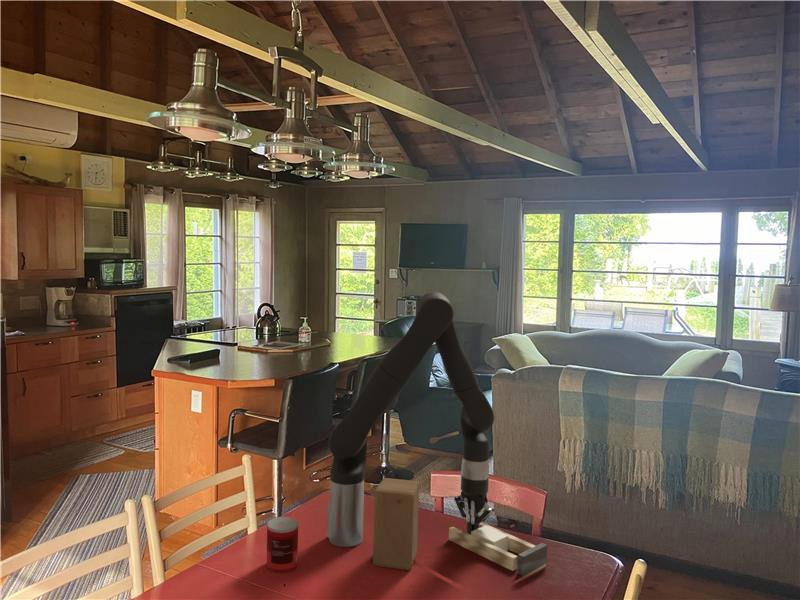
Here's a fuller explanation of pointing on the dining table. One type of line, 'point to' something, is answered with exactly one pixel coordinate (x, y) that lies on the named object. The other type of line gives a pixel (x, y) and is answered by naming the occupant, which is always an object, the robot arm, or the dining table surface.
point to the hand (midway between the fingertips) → (472, 535)
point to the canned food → (282, 544)
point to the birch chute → (528, 554)
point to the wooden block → (395, 523)
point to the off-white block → (492, 537)
